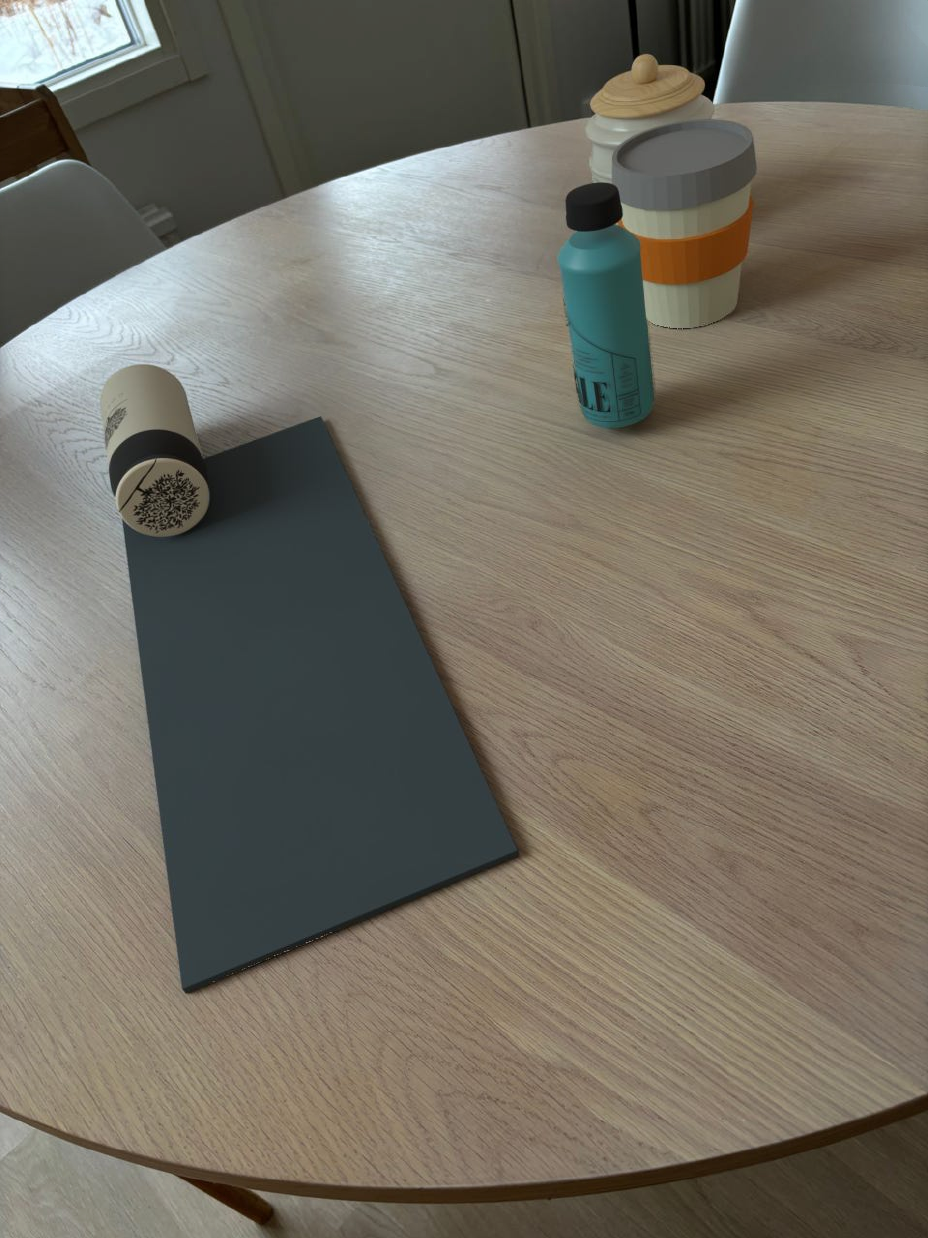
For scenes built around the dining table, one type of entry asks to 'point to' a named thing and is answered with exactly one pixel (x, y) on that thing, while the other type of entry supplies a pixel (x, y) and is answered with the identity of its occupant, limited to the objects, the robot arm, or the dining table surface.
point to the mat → (295, 716)
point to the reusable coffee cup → (688, 215)
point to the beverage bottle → (606, 309)
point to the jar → (641, 108)
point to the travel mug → (153, 451)
